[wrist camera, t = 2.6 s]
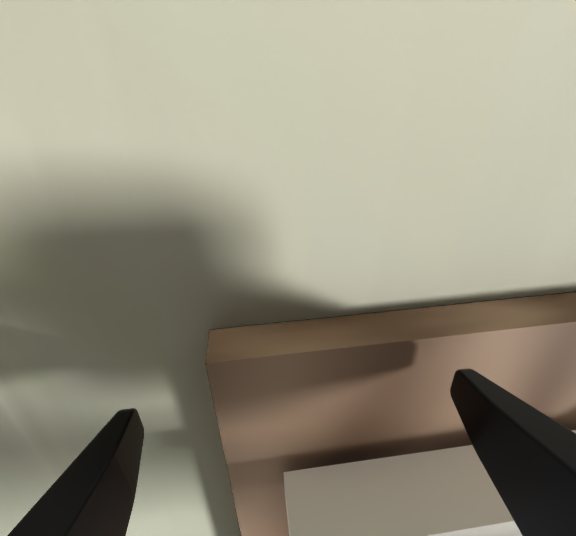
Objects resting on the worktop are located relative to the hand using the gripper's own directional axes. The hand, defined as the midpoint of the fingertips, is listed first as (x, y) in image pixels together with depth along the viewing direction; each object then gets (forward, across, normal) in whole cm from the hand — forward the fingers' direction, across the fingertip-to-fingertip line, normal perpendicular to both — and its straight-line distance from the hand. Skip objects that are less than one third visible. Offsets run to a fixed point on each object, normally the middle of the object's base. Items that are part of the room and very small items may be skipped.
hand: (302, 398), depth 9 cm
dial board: (+2, -8, +9) cm, 13 cm away
